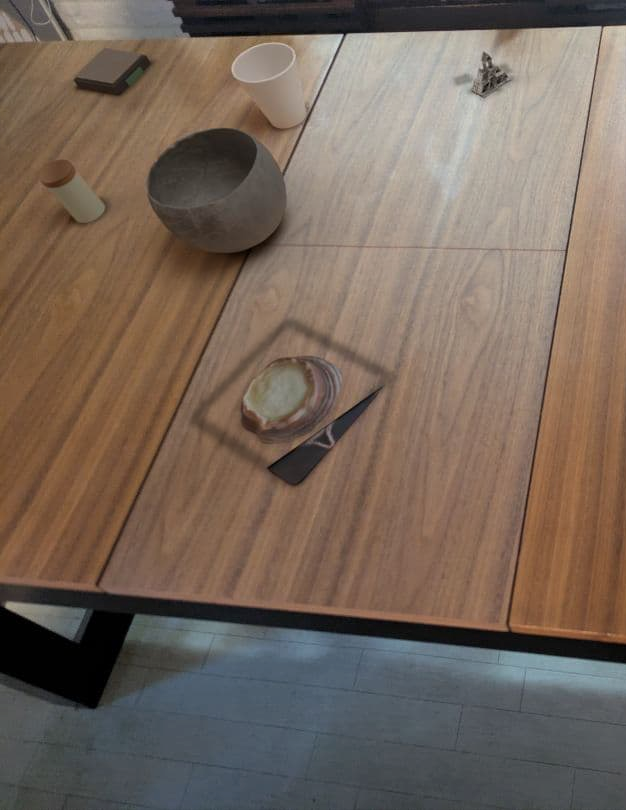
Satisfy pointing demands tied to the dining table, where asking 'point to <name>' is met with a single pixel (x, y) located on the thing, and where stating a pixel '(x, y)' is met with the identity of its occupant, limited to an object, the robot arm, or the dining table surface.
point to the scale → (112, 71)
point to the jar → (71, 190)
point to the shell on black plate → (297, 411)
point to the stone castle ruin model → (488, 77)
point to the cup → (272, 82)
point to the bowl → (218, 190)
